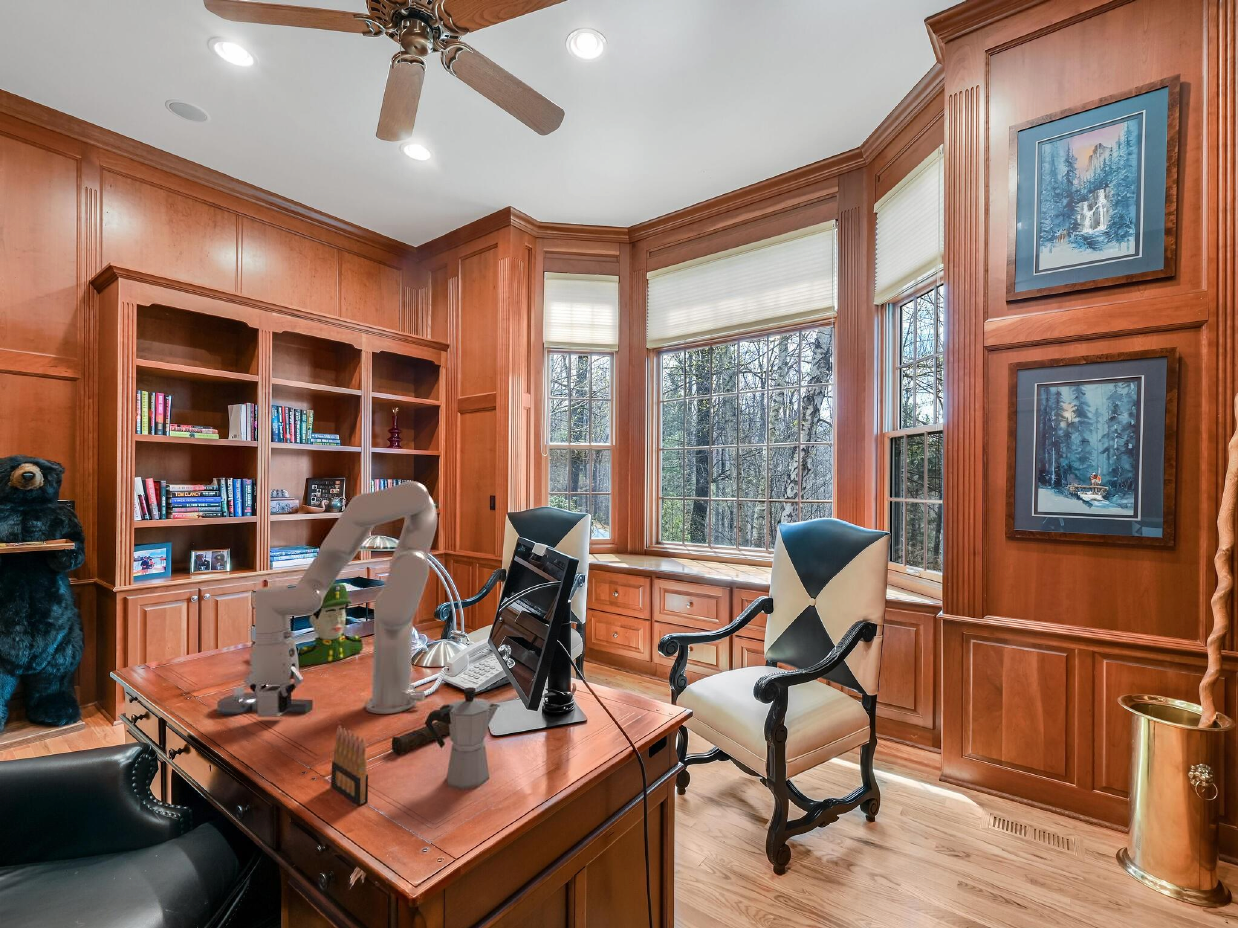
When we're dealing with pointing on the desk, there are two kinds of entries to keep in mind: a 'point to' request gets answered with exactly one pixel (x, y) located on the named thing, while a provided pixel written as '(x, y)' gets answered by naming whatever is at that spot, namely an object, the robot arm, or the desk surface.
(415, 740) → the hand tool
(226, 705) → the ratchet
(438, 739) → the coffee maker
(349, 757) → the ammunition clip
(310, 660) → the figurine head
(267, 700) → the socket
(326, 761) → the desk surface
